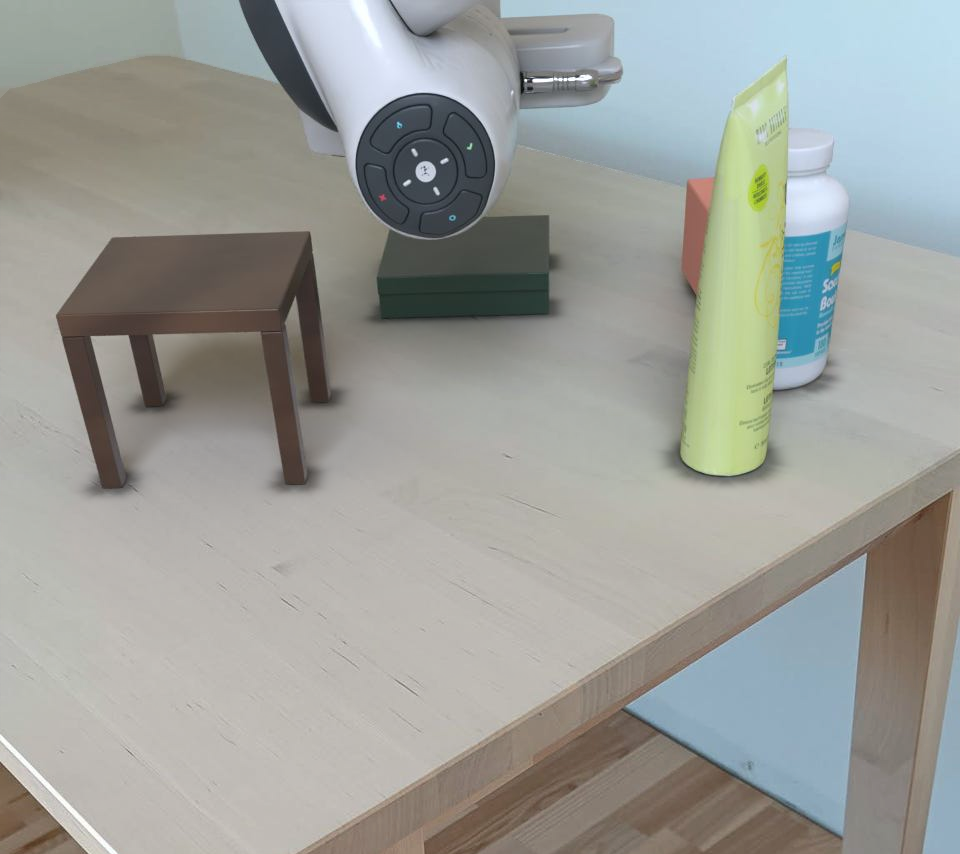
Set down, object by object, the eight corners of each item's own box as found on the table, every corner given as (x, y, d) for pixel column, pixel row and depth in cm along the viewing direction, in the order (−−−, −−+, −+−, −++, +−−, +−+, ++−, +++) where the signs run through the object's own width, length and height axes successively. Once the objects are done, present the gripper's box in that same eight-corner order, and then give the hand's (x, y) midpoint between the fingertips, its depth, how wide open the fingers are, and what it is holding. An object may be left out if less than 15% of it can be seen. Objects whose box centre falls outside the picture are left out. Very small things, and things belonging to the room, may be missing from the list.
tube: (784, 476, 72) (837, 81, 58) (699, 489, 71) (732, 93, 57) (746, 432, 76) (787, 54, 62) (665, 445, 75) (689, 65, 61)
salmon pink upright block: (710, 337, 86) (720, 206, 80) (674, 273, 95) (682, 151, 89) (823, 328, 86) (842, 197, 81) (778, 265, 95) (792, 143, 89)
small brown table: (101, 488, 74) (54, 315, 67) (149, 398, 83) (111, 236, 76) (305, 484, 73) (278, 308, 67) (331, 394, 82) (310, 230, 75)
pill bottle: (836, 393, 79) (873, 153, 70) (716, 398, 79) (737, 160, 70) (812, 344, 84) (844, 116, 75) (700, 349, 85) (718, 122, 75)
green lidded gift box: (380, 320, 91) (376, 277, 88) (395, 260, 99) (392, 219, 97) (548, 316, 90) (548, 272, 88) (549, 256, 98) (549, 214, 96)
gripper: (626, 16, 71) (617, -31, 81) (266, 33, 73) (301, -16, 83) (622, 141, 76) (615, 82, 86) (283, 154, 77) (314, 94, 87)
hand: (458, 34), depth 84 cm, fingers closed on bottle, 5 cm apart
